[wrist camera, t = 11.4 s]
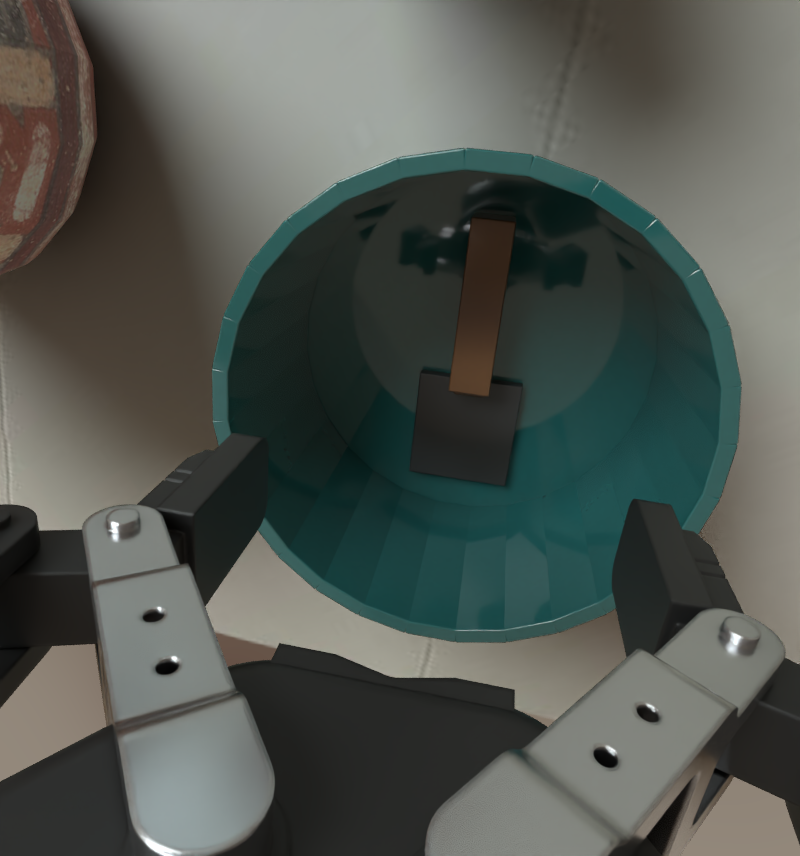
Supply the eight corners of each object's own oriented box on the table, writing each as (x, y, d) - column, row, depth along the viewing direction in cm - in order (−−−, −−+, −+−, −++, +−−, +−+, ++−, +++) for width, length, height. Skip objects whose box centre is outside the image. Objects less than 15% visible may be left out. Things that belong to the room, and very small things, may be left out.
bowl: (308, 133, 29) (206, 121, 19) (713, 174, 27) (823, 184, 17) (295, 480, 36) (215, 598, 26) (619, 532, 34) (661, 681, 24)
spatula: (439, 208, 28) (433, 212, 26) (551, 220, 28) (555, 226, 26) (410, 466, 33) (403, 488, 31) (505, 481, 33) (504, 504, 31)
